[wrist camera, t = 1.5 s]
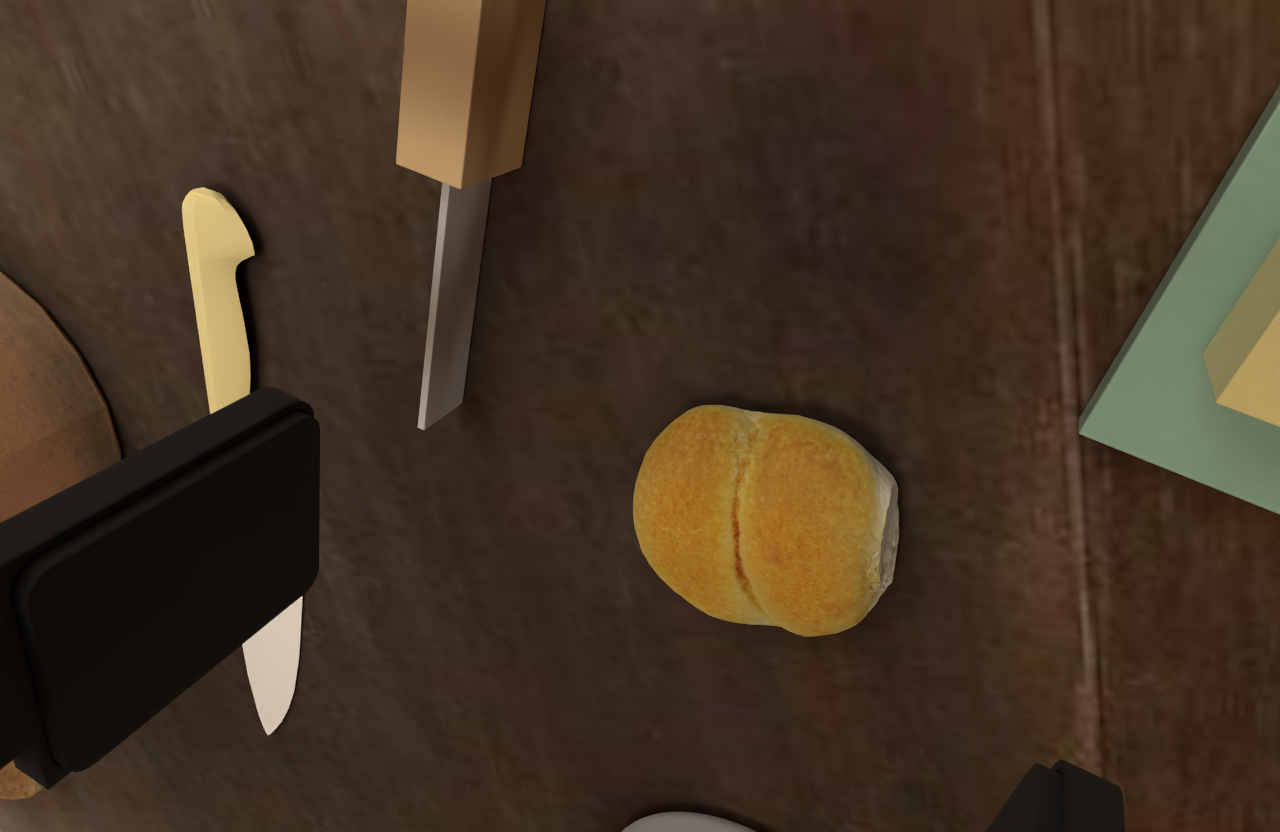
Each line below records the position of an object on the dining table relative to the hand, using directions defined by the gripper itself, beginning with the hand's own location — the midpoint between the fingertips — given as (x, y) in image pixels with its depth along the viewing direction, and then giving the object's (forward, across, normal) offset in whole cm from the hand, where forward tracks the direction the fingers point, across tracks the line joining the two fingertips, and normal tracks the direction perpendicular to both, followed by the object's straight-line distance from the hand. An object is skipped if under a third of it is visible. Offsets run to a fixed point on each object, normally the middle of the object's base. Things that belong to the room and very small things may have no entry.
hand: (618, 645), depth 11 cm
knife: (+18, +24, +23) cm, 38 cm away
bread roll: (+18, 0, +10) cm, 21 cm away
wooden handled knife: (+18, +13, +2) cm, 23 cm away
